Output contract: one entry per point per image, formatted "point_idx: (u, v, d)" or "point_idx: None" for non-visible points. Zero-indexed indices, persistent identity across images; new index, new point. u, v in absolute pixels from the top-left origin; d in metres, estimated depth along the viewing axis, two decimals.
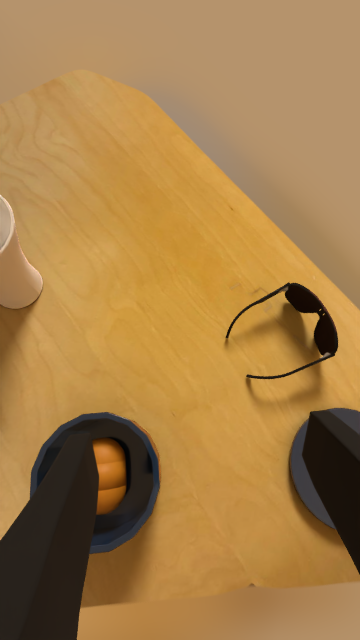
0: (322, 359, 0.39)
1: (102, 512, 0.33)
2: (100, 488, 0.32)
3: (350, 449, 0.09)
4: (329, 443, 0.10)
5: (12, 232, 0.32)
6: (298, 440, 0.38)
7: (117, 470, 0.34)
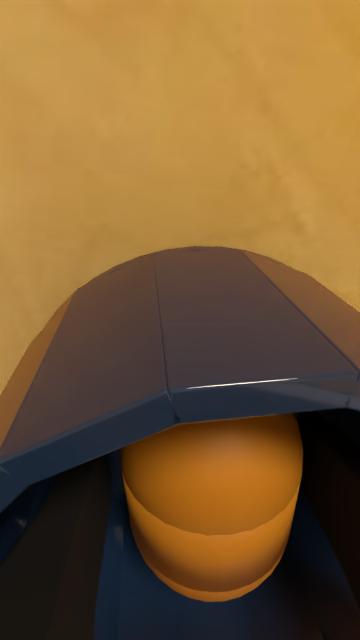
0: None
1: None
2: (237, 584, 0.08)
3: (336, 450, 0.09)
4: (316, 444, 0.10)
5: None
6: None
7: (292, 511, 0.08)
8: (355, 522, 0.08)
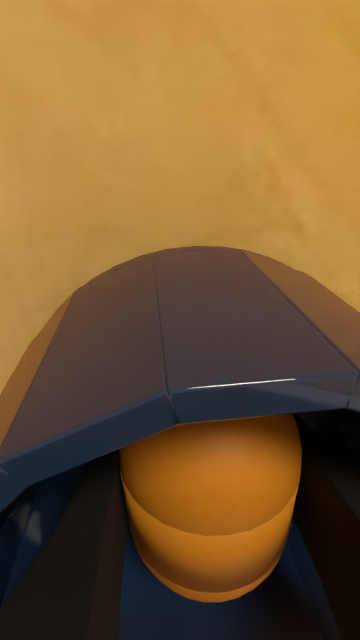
0: None
1: None
2: (235, 585, 0.08)
3: (310, 453, 0.09)
4: None
5: None
6: None
7: (291, 511, 0.08)
8: (328, 525, 0.08)
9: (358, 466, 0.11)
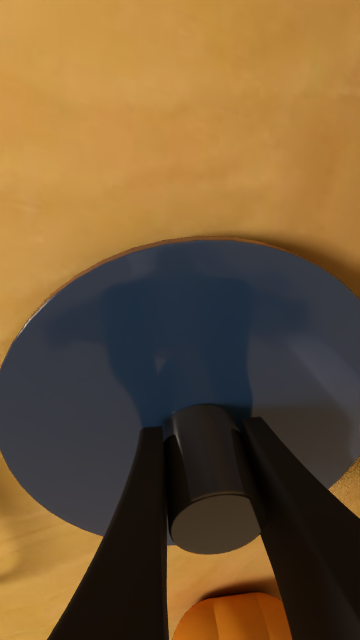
0: None
1: None
2: None
3: (267, 458, 0.09)
4: (254, 451, 0.09)
5: None
6: None
7: None
8: (282, 531, 0.08)
9: None
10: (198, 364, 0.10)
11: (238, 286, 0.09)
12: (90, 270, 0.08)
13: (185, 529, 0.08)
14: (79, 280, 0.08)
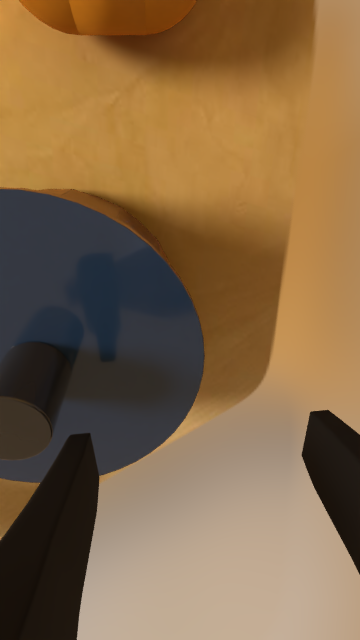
0: None
1: None
2: None
3: (350, 449, 0.09)
4: (329, 443, 0.10)
5: None
6: None
7: None
8: None
9: None
10: (18, 303, 0.12)
11: (34, 231, 0.11)
12: None
13: None
14: None
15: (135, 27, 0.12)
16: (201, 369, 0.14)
